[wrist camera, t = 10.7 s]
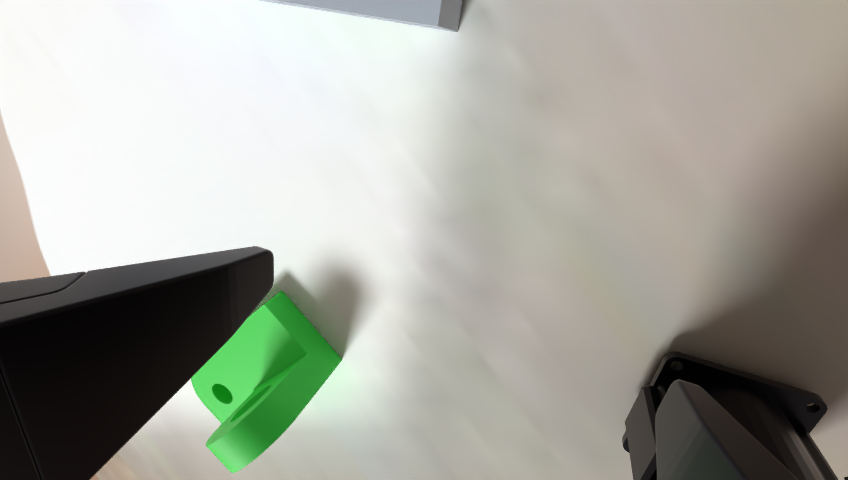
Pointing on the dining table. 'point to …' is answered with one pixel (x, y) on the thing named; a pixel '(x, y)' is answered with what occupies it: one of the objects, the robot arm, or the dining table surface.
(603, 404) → the dining table surface
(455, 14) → the socket board
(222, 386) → the mechanical part
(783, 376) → the dining table surface
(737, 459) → the robot arm
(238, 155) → the dining table surface
